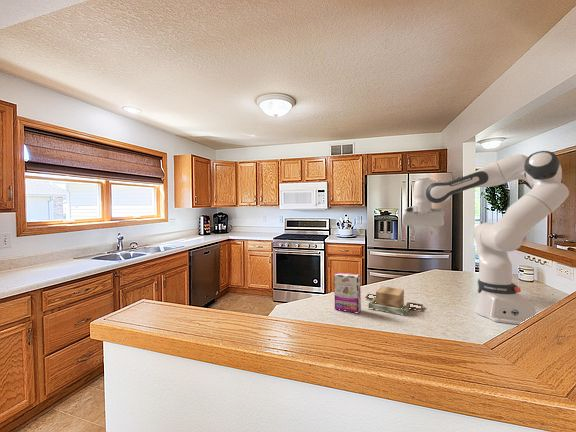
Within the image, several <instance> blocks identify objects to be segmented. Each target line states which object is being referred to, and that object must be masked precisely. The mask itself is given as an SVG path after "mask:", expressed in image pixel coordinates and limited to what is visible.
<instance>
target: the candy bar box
mask: <svg viewBox="0 0 576 432" xmlns="http://www.w3.org/2000/svg"><path fill="white" fill-rule="evenodd" d="M333 285H334V287H333V289H334V310H335V309H340V310H346V311H352V312H351V313H353V312H358V313H357V314H359V313H360V312H361V309H362V304H361V303H362V295H361V293H362V292H361V291H362V290H361V274H358V273H357V274H355V273H347V272H346V273H345V272H336V273H335V274H334V275H333ZM340 310H339V311H340ZM346 311H345V312H346ZM359 311H360V312H359Z"/></svg>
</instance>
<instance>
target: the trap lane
mask: <svg viewBox="0 0 576 432" xmlns="http://www.w3.org/2000/svg"><path fill="white" fill-rule="evenodd" d="M369 295H373V296H376V294H372V293H368V294H366V296H365V297H364V299H365V298H367V299H372V300H370V302H369V303H368V309H369V308H373V309H378V310H383V311H388V312H393V313H398V314H403V315H406V314H407V315H408V313H409V311H408V310H410V309H409V308H411V309H416V310H423V308H422V307H424V304H421V303H415V302H410V301H409V302H408V301H407V303H406V304H405V305H404V307H403V308H402V309H400V308H395V307H389V306H383V305H378V304H375V302H376V297H374V298H369V297H368V296H369ZM410 304H413V305H418V306H421V308H416V307H410ZM416 310H415V311H416ZM407 312H408V313H407ZM398 314H397V315H398ZM403 315H402V316H403ZM407 315H406V316H407Z"/></svg>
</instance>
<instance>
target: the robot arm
mask: <svg viewBox="0 0 576 432" xmlns="http://www.w3.org/2000/svg"><path fill="white" fill-rule="evenodd" d="M562 173H563V168H562V166H561V161H560V159H559V157H558V156H557V154H555V153H554V152H552V151H549V150H540V151H535V152H534V153H531V154H530V155H529V156H527V155H525V154H516V155H511V156H508V157H504V158H501V159H498V160H495V161H493V162H490V163H488V164H486V165H484V166H482V167H480V168H479V169H476V170H475V171H473V172H471V173H469V174H467V175H465V176H461V177H458V178H456V179H453V180H451V181H447V182H440V181H434V180H433V179H431V178H430V177H426V178H419V179H417V180H416V181H414V185H413V204H412V206H409V207H406V208H404V213H403V214H402V219H401V220H402V221H401V224H402V225H403V226H408V227H409V230H410V231H411V235H413V234H415V230H414V229H413V226H415V227H416V226H417V227H419V226H420V227H432V228H433V229H432V230H430V235H434V234H435V230H436V229H437V227H443V226H444V225H445V221H444V219H445V218H444V217H445V215H446V214H445V210H444V209H442V208H432V205H433V204H440V203H444V202H447V201H448V200H450V199H451V198H452V197H453V195H455V194H458V193H462V192H464V191H468V190H469V189H473V188H475V189H476V188H490V187H496V186H500V185H504V184H507V183H509V182H513V181H517V180H523V184H524V185H526V187H528V188H529V189H530V190H529V191H528V192H526V193H525V194H523V195H522V196H521V197H519V199H517V200H516V201H515V202H513V204H511V205H510V206H509V207H507V208H506V211H505V213H504V214H503V215H502V217H501V218H499V219H498V221H496V222H489V221H488V222H483V223H480V224H478V225H477V226H476V227H474V229H473V233H472V234H473V238H474V240H475V245H476V251H477V257H478V263H479V264H478V276H479V277H478V280H477V285H476V286H477V293H478V294H477V299H476V304H475V306H474V309H473V311H474V312H475V313H476V314H477V315H480V316H482V317H483V318H487V319H489V320H490V321H493V322H495V323H503V324H512V325H519V324H520V323H521V322H523V321H525V320H526V319H528V318H530V317H532V316H534V315H535V314H537V311H536V308H535V306H534V304H533V303H532V302H531V301H530V300H528V299H526V298H525V297H524V296H523V295H521V294H520V293H521V291H522V288H521V287H519V286H518V285H517V284H516V283H514V282H513V281H512V278H513V275H512V274H513V271H512V270H513V265H512V262H511V261H510V258H509V254H508V252H509V253H510V252H514V251H516V250H518V249H519V248H521V246H522V244H523V242H524V238H525V237H526V236H527V234H528V233H529V232H530V231H531V230H532V229H533V228H534V227H535V226H536V225H538V224H539V223H540V222H541V221H543V220H544V219H545V218H546V217H548V216H549V215H551V214H552V213H553V212H554V211H555V210H556V209H558V208H559V207H560V206H561V205H562V204H563V203H564V201H566V200H567V198H568V197H569V195H570V190H569V188H568V187H567V186H566V185H565V184H564V183H563V178H562V177H563V174H562ZM432 203H433V204H432Z"/></svg>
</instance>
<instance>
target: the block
mask: <svg viewBox="0 0 576 432" xmlns="http://www.w3.org/2000/svg"><path fill="white" fill-rule="evenodd" d="M375 295H376V304H378V305H383V306H389V307H395V308H400V309H401V308H402V307H403V305H404V306H405V300H404V299H405V289H403V288H395V287H390V286H389V287H388V286H382V285H381V286H380V287H379V289H377V290H376V291H375ZM403 308H404V307H403ZM403 308H402V309H403Z"/></svg>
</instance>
